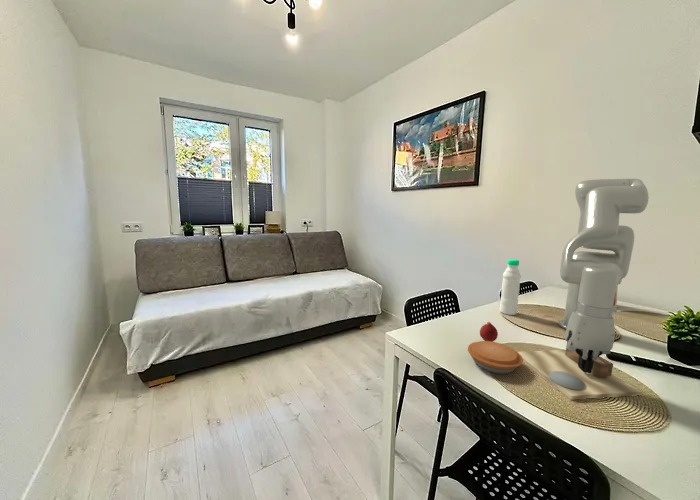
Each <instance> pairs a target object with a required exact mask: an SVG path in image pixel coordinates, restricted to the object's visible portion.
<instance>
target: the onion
mask: <svg viewBox="0 0 700 500" xmlns="http://www.w3.org/2000/svg"><path fill="white" fill-rule="evenodd" d="M498 333H499V332H498V330H497V328H496V327H495V326H494V325H493V324H492V323H491V322H490V321H487V322H486V323H485V324H483V325H482V326H481V327H480V329H479V335H480V338H482V340H483V341H491V342H495V341H496V340H497V339H498V336H499V335H498Z"/></svg>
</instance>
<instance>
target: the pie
mask: <svg viewBox="0 0 700 500" xmlns="http://www.w3.org/2000/svg"><path fill="white" fill-rule="evenodd" d="M467 352H468V353H469V355H470V356H471V359H472V360H473V362H474V363H475V365H477V367H478V368H481V369H482V370H485V371H487V372H489V373H494V374H498V375H499V374H509V373H512V372H513V371H514V370H515V369H517V368H518V367H520V366H521V365H523V363H524V362H523V358H522V356H521V355H520V354H519V353H518V352H519V351H517V350H514V349H513V348H511V347H510V346H508V345H506V344H503V343H500V342H497V341H496V342H495V341H493V342H491V341H484V340H483V341H482V340H480V341H474V342H472V343H470V344H469V345H468V346H467Z"/></svg>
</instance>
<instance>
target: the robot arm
mask: <svg viewBox="0 0 700 500" xmlns="http://www.w3.org/2000/svg"><path fill="white" fill-rule="evenodd" d="M574 196H575V199H576V202H577V204H578V207H579V211H580V215H579V216H580V217H579V223H578V229H577V230H578V231H577V233H576V234H575V235H574V236H572V237H571V238H570V239H569V240H568V241H567V243H566V244H565V246H564V248H563V250H562V255H561V260H560V269H559V276H560V278H561V281H563V282H565V283H567V284H568V287H567V292H566V293H567V294H566V301H565V309H564V316H563V319H560V320H558V326H560V327H561V328H562V329H564V330H566V331H565V335H564V340H565V341H566V346H565V349H566V348H567V349H568V350H570V351H573V352H576V353H577V354H578V355H579V360H578V367H579V368H580V369H581V370H582V371H583V372H584V373H587V372H588V373H591V372H592V369H593V364H594V361H595V360H597V357H599V356H600V357H601V356H603V355H609V354H611V351H612V350H613V348H614V344H615V343H614V341H615V331H616V330H615V329H616V328H615V319H614V317H613V313H616V312H618V308H617V306H616V307H613V304H614V298H615V293H616V287H617V286H618V287H619V285H620V284H621V283H622V280H623V279H624V278H626V277H627V276H628V273H629V269H630V264H631V260H632V253H633V248H634V244H635V233H634V230H633V229H632V227H630V226H627V225H620V214H634V215H635V214H641V213H642V212H644V211H645V210H646V209H647V207H648V204H649V197H650V196H649V191H648V188H647V186H646V184H645V183H644V182H643V180H642V179H639V178H604V179H603V178H599V179H598V178H597V179H587V180H581V181H579V182H578V183H577V184H576V186H575V195H574ZM580 248H582V249H585V251H584V250H581V251H576V250H577V249H580ZM586 249H587V250H598V251H587V250H586ZM599 251H607V252H608V253H607V252H599ZM609 251H610V252H609ZM611 252H613V253H611ZM567 342H568V343H567Z"/></svg>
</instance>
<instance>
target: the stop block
mask: <svg viewBox="0 0 700 500" xmlns="http://www.w3.org/2000/svg"><path fill="white" fill-rule="evenodd" d="M597 358H598V359H600V360H601V361H603V362H604V363H606V364H608V365H609V370H608V375H607V376H611V374H612V373H613V369H614V363H613V362H611V361H609V360H607V359H605V358H604V357H601V355H600V356H599V357H597ZM612 375H613V374H612Z"/></svg>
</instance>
